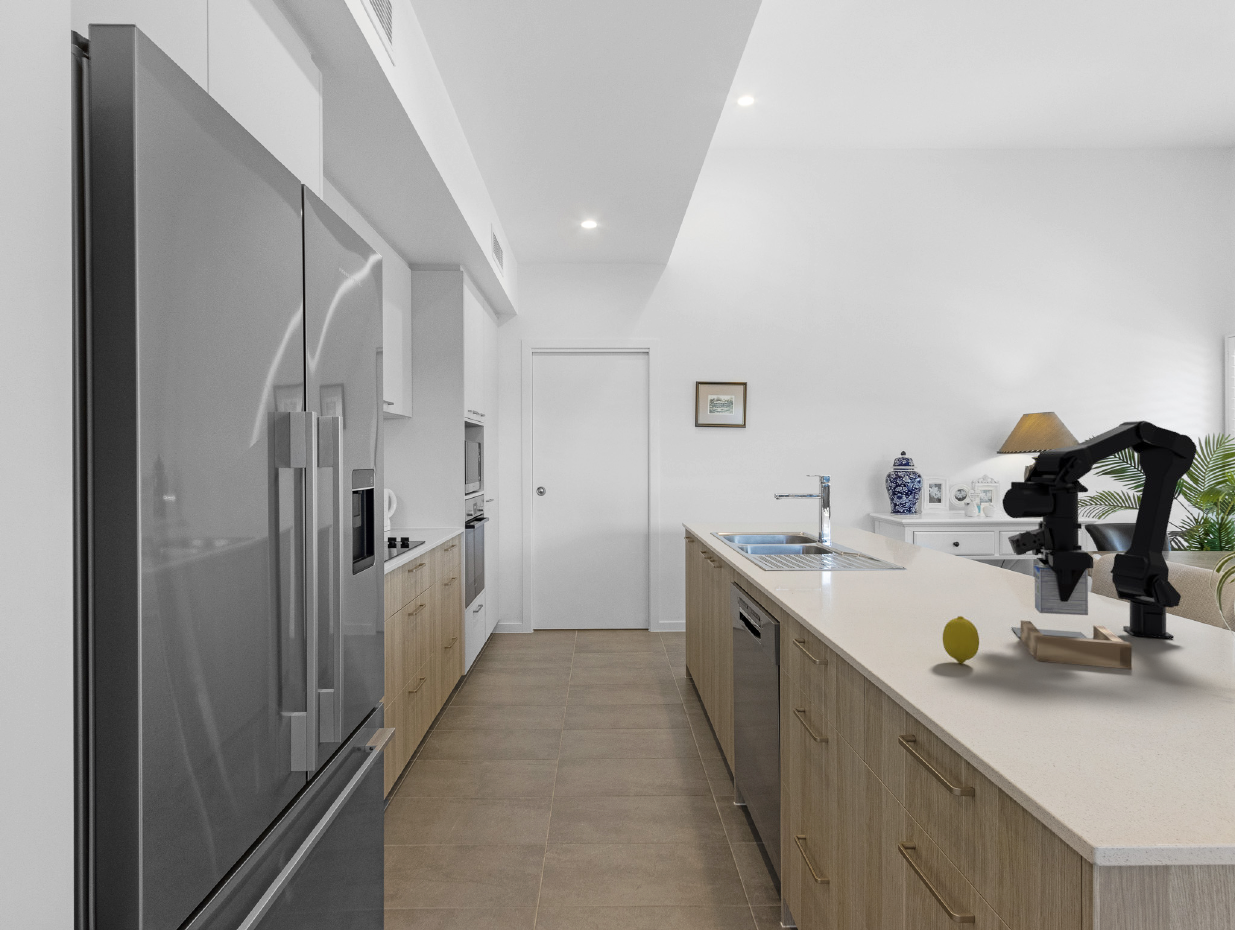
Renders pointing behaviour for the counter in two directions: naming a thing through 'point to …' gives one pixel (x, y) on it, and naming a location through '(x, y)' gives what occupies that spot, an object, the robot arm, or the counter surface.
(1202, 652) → the counter surface
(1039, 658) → the dispenser rack
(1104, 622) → the counter surface
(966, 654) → the lemon
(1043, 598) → the medicine box
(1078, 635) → the mat
